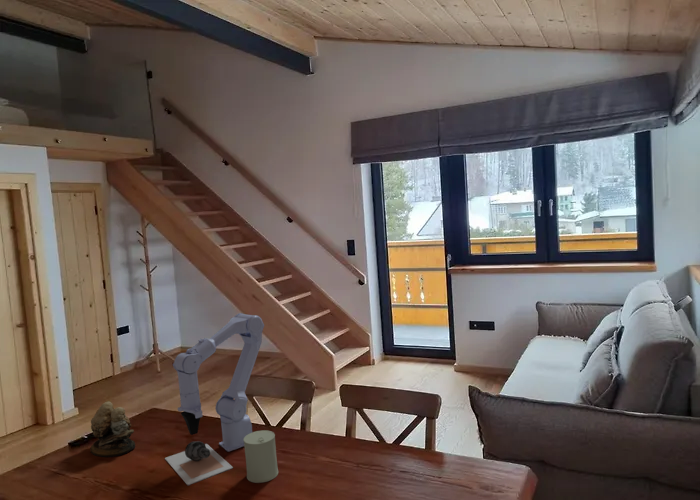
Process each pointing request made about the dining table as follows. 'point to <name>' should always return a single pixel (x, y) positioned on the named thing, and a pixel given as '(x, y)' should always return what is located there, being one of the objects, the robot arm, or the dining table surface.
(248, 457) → the can
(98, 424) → the rock sculpture
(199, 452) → the dark grey chess piece
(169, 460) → the mat
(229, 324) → the robot arm
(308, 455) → the dining table surface
